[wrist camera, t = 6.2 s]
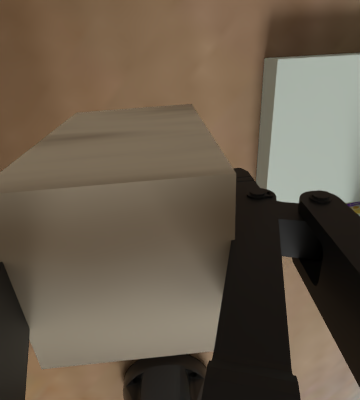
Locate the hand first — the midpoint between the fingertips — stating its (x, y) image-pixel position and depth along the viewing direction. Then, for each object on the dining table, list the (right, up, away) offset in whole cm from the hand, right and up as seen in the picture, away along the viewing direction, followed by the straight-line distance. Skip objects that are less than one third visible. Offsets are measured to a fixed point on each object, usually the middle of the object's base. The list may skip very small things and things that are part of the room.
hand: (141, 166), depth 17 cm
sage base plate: (+19, +7, +19) cm, 28 cm away
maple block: (0, 0, 0) cm, 0 cm away
